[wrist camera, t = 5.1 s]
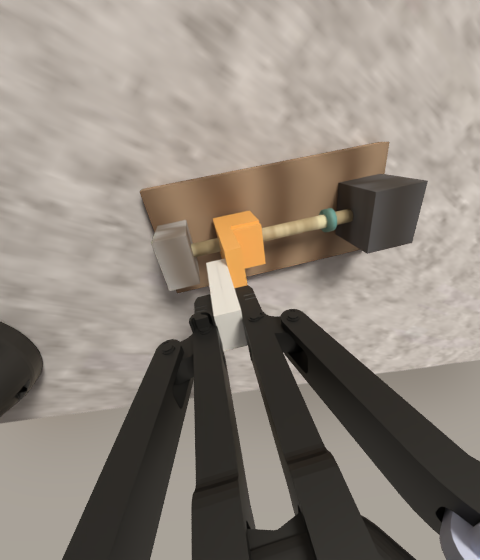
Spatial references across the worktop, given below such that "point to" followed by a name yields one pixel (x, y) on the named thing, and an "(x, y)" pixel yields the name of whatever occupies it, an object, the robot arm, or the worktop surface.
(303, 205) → the rail
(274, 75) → the worktop surface
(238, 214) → the orange sliding rod block
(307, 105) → the worktop surface
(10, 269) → the worktop surface
